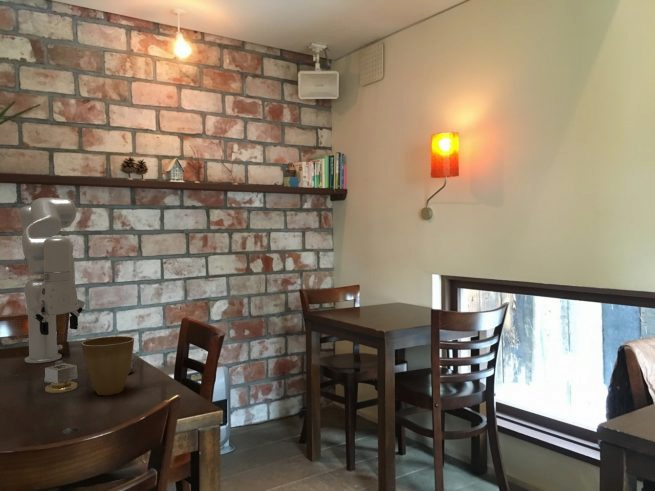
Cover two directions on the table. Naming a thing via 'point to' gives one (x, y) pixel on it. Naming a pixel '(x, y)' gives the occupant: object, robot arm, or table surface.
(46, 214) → the robot arm
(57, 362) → the stand
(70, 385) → the hub
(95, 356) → the plant pot
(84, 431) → the table surface
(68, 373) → the square sleeve
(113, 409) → the table surface
